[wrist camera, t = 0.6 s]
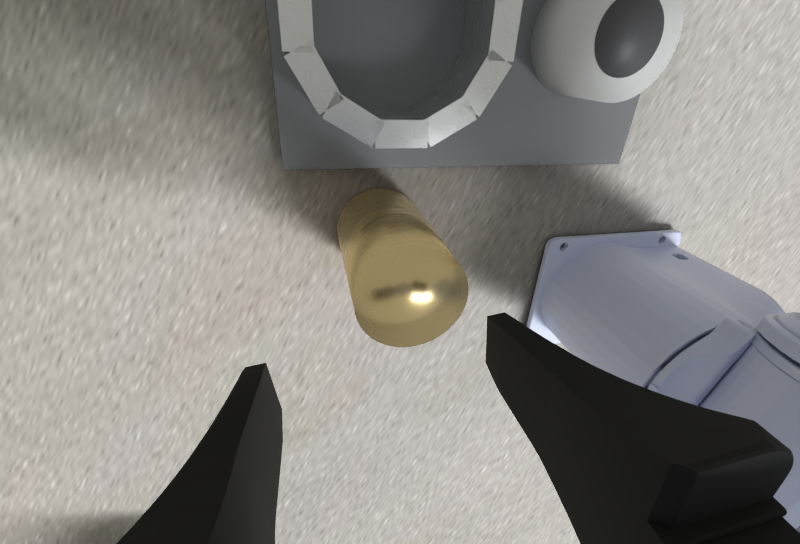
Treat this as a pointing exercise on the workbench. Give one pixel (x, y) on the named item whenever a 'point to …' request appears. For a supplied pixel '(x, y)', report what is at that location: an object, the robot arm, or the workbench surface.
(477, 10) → the socket collar
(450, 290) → the brass cylinder
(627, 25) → the flange plate
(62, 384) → the workbench surface
